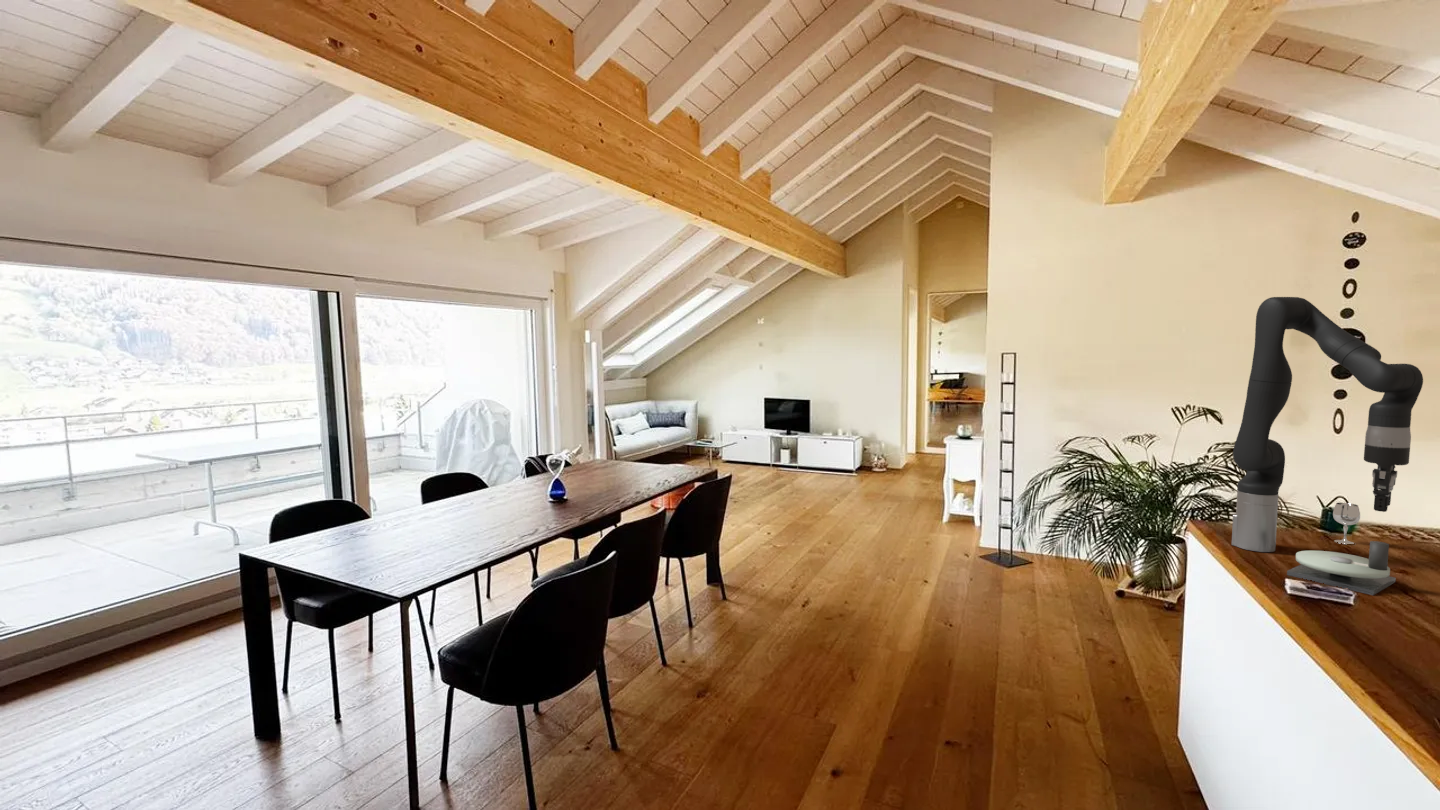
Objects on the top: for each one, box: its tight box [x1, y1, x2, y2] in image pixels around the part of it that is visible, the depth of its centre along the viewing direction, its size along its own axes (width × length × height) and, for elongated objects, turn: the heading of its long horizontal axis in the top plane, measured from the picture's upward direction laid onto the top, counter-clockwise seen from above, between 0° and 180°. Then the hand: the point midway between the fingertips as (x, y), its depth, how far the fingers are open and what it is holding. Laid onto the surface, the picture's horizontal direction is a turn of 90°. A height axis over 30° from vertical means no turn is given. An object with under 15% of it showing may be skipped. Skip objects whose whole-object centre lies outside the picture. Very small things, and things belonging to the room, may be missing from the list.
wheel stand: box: [1286, 564, 1396, 596], centre depth 156 cm, size 16×16×3 cm
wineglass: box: [1332, 502, 1361, 545], centre depth 183 cm, size 6×6×12 cm
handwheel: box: [1295, 540, 1391, 578], centre depth 155 cm, size 17×17×8 cm
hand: (1382, 508), depth 149 cm, fingers open, 8 cm apart
